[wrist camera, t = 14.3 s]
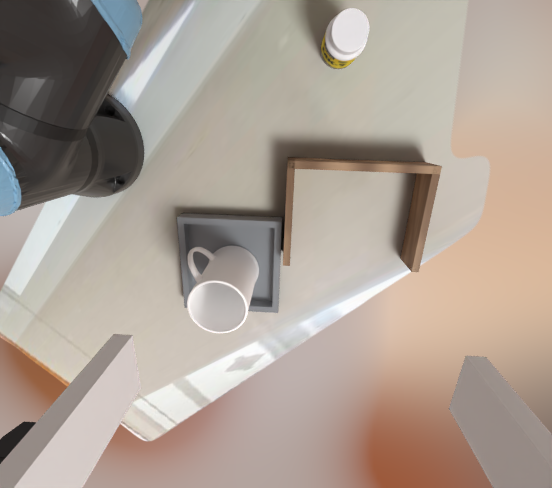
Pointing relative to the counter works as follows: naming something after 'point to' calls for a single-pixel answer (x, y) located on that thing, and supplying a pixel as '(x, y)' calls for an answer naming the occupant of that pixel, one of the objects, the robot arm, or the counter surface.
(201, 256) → the tray
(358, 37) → the supplement bottle
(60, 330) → the counter surface
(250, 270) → the mug
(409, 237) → the bay
